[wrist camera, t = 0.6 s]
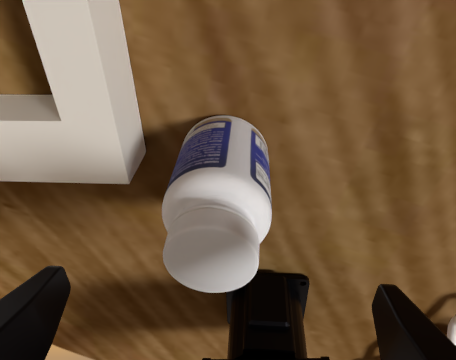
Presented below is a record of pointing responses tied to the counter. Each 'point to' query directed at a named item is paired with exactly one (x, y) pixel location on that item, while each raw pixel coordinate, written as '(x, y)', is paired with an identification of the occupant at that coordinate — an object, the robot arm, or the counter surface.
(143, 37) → the counter surface
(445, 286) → the counter surface
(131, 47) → the counter surface
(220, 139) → the pill bottle
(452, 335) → the tangled rod sculpture
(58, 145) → the socket block
